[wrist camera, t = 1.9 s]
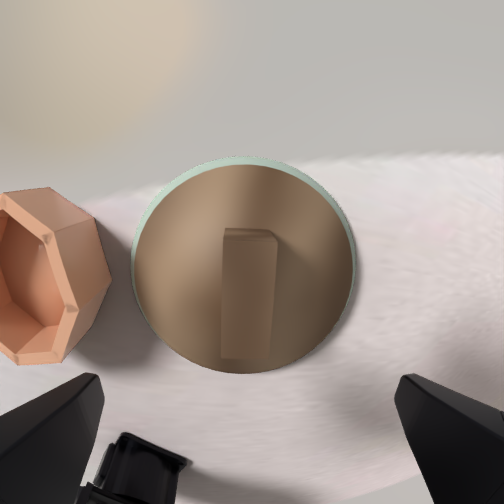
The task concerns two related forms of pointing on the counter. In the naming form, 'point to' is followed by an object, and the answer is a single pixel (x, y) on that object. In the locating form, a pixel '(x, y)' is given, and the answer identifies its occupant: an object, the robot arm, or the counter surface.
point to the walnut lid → (243, 269)
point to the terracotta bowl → (47, 275)
